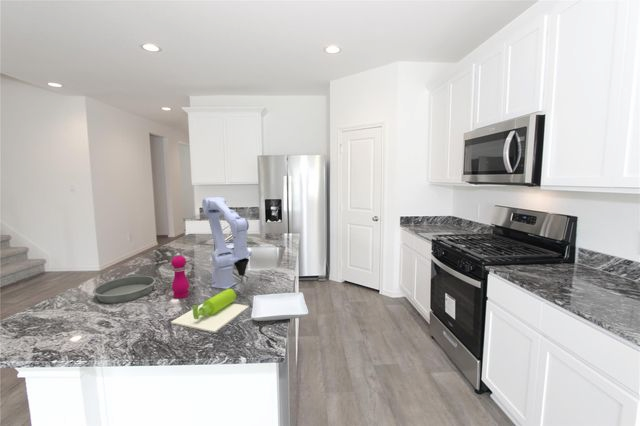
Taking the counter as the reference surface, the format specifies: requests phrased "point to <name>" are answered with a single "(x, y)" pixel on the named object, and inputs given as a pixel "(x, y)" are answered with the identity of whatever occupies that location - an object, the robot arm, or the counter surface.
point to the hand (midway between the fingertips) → (241, 275)
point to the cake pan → (124, 289)
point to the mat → (211, 318)
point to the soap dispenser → (215, 303)
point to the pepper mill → (179, 277)
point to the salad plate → (279, 306)
